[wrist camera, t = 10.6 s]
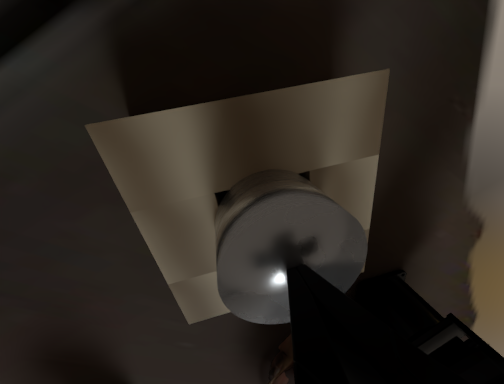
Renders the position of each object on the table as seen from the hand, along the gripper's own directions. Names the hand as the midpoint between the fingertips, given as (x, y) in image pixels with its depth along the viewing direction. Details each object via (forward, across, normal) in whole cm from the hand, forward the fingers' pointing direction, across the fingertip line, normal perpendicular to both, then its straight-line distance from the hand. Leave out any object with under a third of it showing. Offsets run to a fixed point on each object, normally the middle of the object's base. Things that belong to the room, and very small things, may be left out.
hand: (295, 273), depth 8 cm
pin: (+9, 0, 0) cm, 9 cm away
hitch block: (+9, 0, 0) cm, 9 cm away
